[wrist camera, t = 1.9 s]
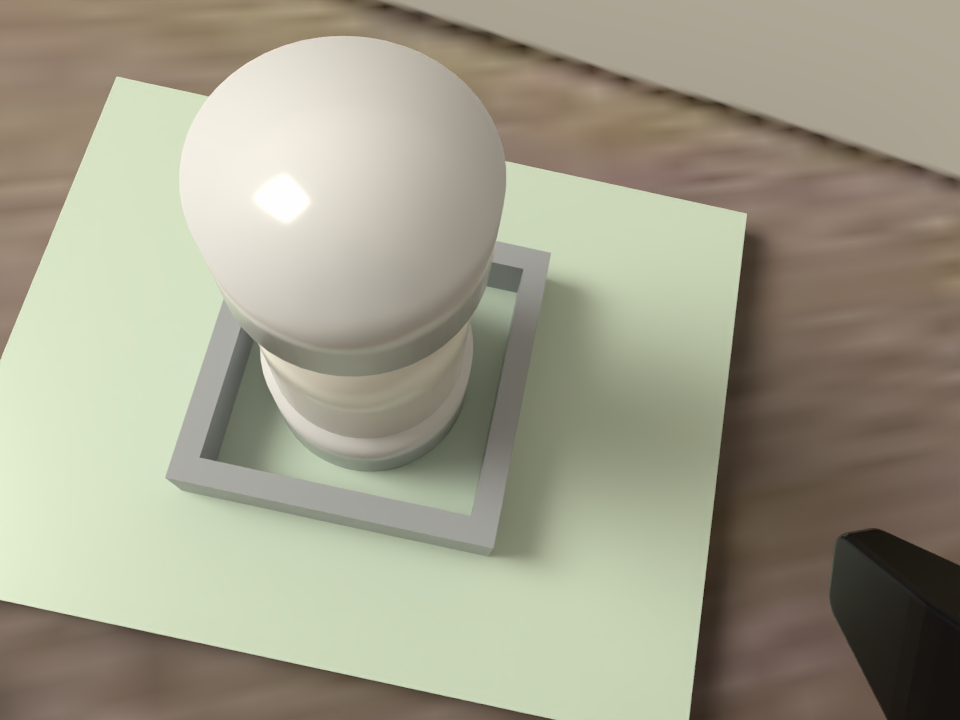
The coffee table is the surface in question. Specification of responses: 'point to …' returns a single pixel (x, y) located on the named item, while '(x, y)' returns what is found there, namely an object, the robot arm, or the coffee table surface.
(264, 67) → the white light bulb
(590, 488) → the green board with frame
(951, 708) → the robot arm
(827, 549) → the coffee table surface
